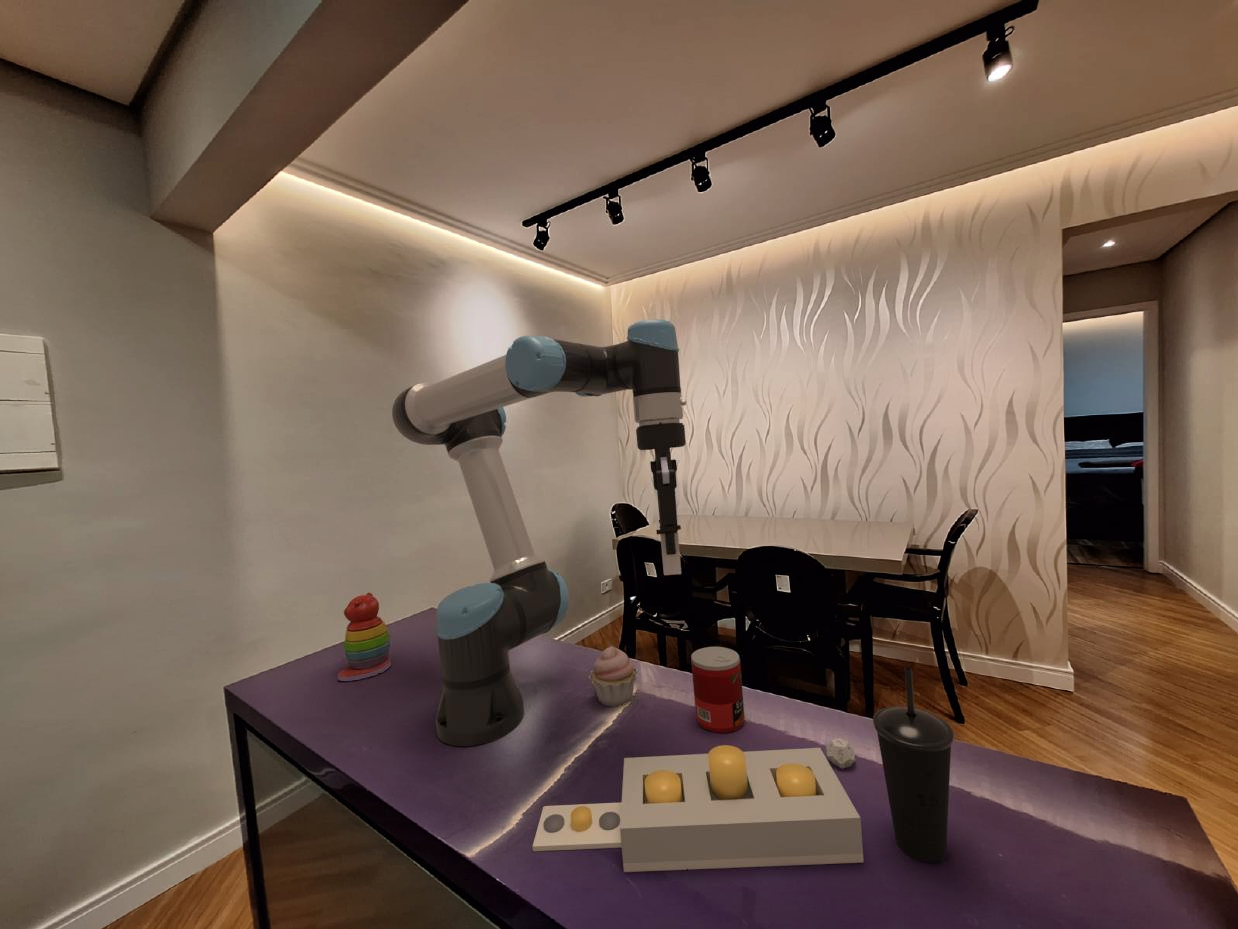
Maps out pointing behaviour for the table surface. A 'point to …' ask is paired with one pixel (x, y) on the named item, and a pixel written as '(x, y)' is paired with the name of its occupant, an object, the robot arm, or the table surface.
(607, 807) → the pattern card
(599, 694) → the cupcake
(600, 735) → the table surface
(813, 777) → the button right
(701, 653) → the canned food
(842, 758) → the game die
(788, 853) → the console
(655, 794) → the button left
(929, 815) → the drinking cup
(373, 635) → the stacking bear
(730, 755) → the button mid
